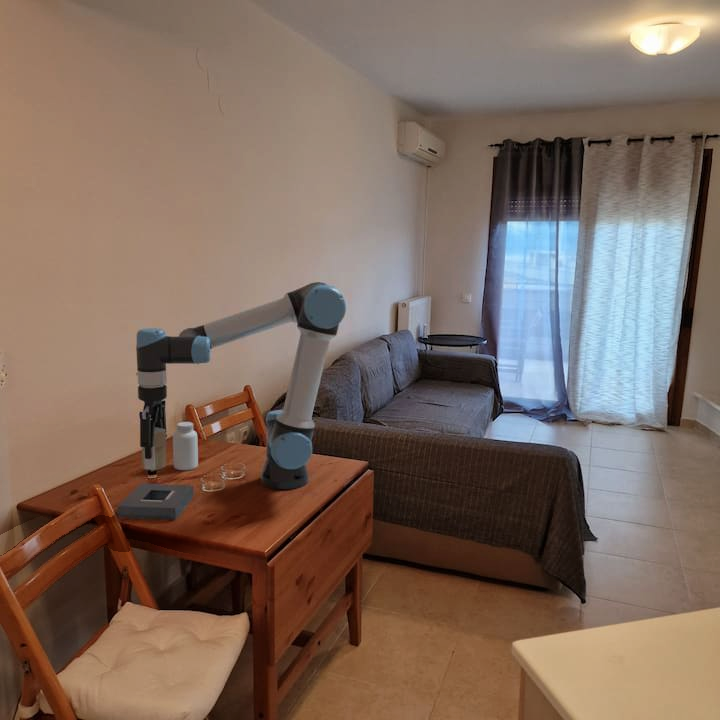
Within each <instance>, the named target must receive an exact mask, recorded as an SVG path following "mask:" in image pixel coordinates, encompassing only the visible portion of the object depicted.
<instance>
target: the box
mask: <svg viewBox="0 0 720 720" xmlns="http://www.w3.org/2000/svg"><path fill="white" fill-rule="evenodd" d="M166 431H167V429H166V430H165V429H162V428H158V427H155V429H154V440H153V446H155V469H154V470H153V469H145V465H144V447H141V449H142V450H141V454H142V457H141V458H142V459H141V462H142V463H141V464H142V469H144V470H147V471H151V472H154V471H156V470H160V469H163V468H166V467H167V448H166V445H167V443H166V438H167V437H166V434H167V432H166Z"/></svg>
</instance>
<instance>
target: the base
mask: <svg viewBox="0 0 720 720" xmlns="http://www.w3.org/2000/svg"><path fill="white" fill-rule="evenodd" d="M194 495H195V494H194V485H193V484H189V485H188V484H167V483H166V484H165V483H164V484H163V483H160V484H159V483H139V484H138V485H137V486H136V487H135V488H134V489H133V490H132V491H131V492H130V493H129V494H128V495H127V496H126V497H125V498H124V499H123V500H122V501H121V502H120V503H118V505H117V518H119V519H133V520H134V519H136V520H137V519H139V520H159V521H160V520H161V521H163V520H164V521H177V520H178V518H179V516H180V515H181V514H182V513H183V511H185V509H186V508H187V506H189V504H190V502H191V501H192V499H193V498H194Z"/></svg>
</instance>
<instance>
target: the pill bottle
mask: <svg viewBox="0 0 720 720" xmlns="http://www.w3.org/2000/svg"><path fill="white" fill-rule="evenodd" d="M198 440H199V439H198V433H197V431H195V430H194V423H193V422H190V421H182V422H181V421H180V422H178V423H177V424H176V431H175V432H174V433H173V435H172V451H173V454H172V455H173V458H172V459H173V468H174V469H175V470H177V471H178V470H179V471H189V470H194V469H196V468H198V466H199V450H198V448H199V446H198Z"/></svg>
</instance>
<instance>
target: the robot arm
mask: <svg viewBox="0 0 720 720" xmlns="http://www.w3.org/2000/svg"><path fill="white" fill-rule="evenodd" d="M346 310H347V304H346V300H345V298H344V296H343V294H342V293H341V291H340V290H338V289H337V287H335V286H334V285H329V284H327V283H324V282H318V281H316V282H311V283H309V284H306V285H304V286H301V287H300V288H296V289H294V290H292V291H289V292H286V293H285V294H284V296H283V297H282V298H279V299H276V300H273V301H271V302H267V303H265V304H262V305H261V304H260V305H258V306H256V307H252V308H250V309H247V310H243V311H240V312H238V313H234V314H232V315H228V316H226V317H223V318H220V319H216V320H214V321H211V322H207V323H205V324H202V325H199V326H196V327H189V328H185V329H183V330H182V331H181V332H180V333H179V334H178V336H169V335H167V334H166V331H165V329H163V328H157V327H152V328H151V327H150V328H149V327H148V328H141V329H139V330H138V331H137V333H136V346H135V349H136V365H137V366H136V367H137V368H136V369H137V372H136V373H135V376H137V384H138V385H139V386H137V398H138V400H140V401H142V402H144V404H143V410H142V411H139V412H138V413H139V414H138V415H139V444H140V445H139V446H140V448H142V447H144V465H145V469H144V470H147V469H153V470H154V469H155V446H153V440H154V429H155V427H158V428H162V429H165V430H166V438H167V437H168V434H167V418H166V415H167V414H166V404H167V403H166V400H165V399H167V397H168V395H167V394H168V393H167V392H168V391H167V389H168V387H167V385H166V384H167V380H168V379H167V378H168V377H167V364H170V365H171V364H172V365H173V364H178V365H179V364H181V365H182V364H183V365H184V364H187V365H188V364H190V365H191V364H193V365H194V364H196V365H199V364H207V363H209V362H210V361H211V350H212V349H215V348H218V347H220V346H223V345H226V344H227V345H228V344H230V343H232V342H236V341H239V340H241V339H244V338H246V337H250V336H253V335H256V334H259V333H261V332H265V331H267V330H270V329H271V330H272V329H274V328H276V327H279V326H280V327H281V326H282V325H285V324H289V323H294V324H297V325H296V327H297V329H298V331H299V332H300V335H299V339H298V344H297V348H296V353H295V357H294V362H293V364H292V365H293V367H292V370H291V373H290V374H291V375H290V379H289V382H288V388H287V392H286V397H285V401H284V405H283V409H276V410H271V411H269V412H267V413H266V417H265V423H266V425H265V427H266V429H265V430H266V433H265V434H266V444H265V445H266V451H265V452H266V458H265V461H264V465H263V468H262V471H261V473H260V475H261V476H260V481H261V484H262V485H263V486H265V487H266V488H269V489H276V490H293V489H296V488H302V487H304V486H305V485H306V484H308V483H309V475H310V474H309V470H308V467H307V465H306V464H307V463H308V462H310V460H311V457H312V455H313V443H312V439H313V435H314V432H315V426H316V423H315V422H314V421H313V419H312V417H313V412H314V409H315V405H316V404H315V403H316V401H317V397H318V392H319V388H320V384H321V378H322V376H323V375H322V374H323V372H324V371H323V370H324V365H325V362H326V358H327V353H328V351H329V350H328V348H329V344H330V341H331V340H332V339H333V338H335V337H337V334H338V329H339V326H340V323H341V322H342V321H343V319H344V317H345V314H346ZM154 471H155V470H154Z"/></svg>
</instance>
